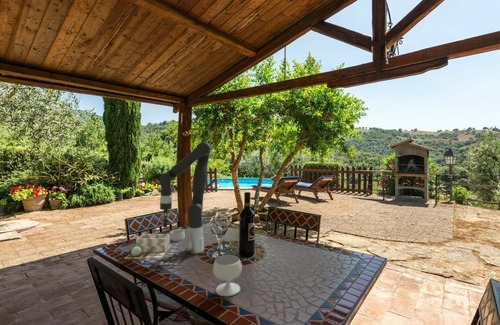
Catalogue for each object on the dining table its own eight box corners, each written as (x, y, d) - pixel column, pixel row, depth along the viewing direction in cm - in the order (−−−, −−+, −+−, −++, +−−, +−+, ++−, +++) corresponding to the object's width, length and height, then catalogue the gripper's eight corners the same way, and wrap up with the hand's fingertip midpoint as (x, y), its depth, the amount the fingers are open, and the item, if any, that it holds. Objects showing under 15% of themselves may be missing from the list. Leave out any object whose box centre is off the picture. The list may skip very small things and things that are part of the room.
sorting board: (174, 247, 179) (174, 233, 178) (162, 261, 156) (161, 244, 155) (140, 247, 180) (140, 233, 179) (123, 261, 157) (122, 245, 156)
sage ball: (143, 253, 164) (142, 245, 164) (138, 257, 158) (138, 248, 158) (134, 254, 164) (134, 245, 164) (129, 257, 158) (129, 248, 158)
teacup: (182, 243, 187) (182, 233, 186) (168, 243, 187) (167, 233, 187) (187, 237, 201) (187, 227, 200) (174, 237, 201) (173, 227, 201)
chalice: (207, 290, 121) (207, 260, 121) (229, 279, 131) (229, 251, 130) (225, 302, 111) (225, 269, 111) (248, 289, 121) (247, 259, 120)
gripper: (172, 203, 162) (171, 228, 163) (171, 200, 176) (170, 222, 176) (159, 204, 160) (158, 229, 160) (160, 200, 174) (159, 223, 174)
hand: (165, 225), depth 168 cm, fingers open, 8 cm apart
